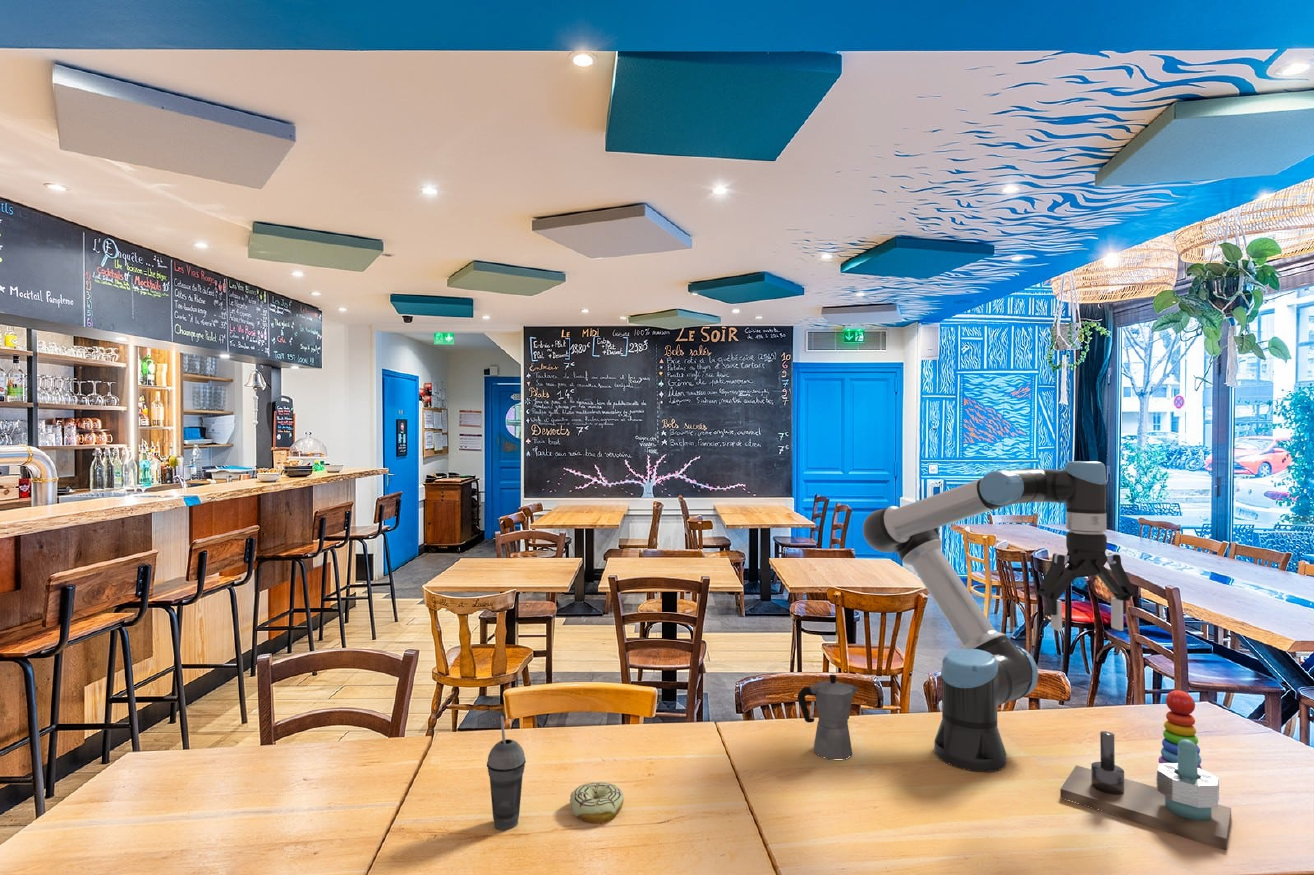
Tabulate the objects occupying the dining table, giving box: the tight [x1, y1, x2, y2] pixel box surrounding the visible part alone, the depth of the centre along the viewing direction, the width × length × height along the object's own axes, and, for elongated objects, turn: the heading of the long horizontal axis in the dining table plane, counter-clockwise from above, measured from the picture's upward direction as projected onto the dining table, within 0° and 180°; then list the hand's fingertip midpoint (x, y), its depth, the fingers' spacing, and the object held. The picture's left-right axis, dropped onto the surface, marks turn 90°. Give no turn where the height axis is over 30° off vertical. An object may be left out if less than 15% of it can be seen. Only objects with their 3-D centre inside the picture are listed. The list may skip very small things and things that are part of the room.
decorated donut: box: [569, 781, 624, 824], centre depth 135 cm, size 10×11×4 cm
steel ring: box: [1156, 763, 1220, 808], centre depth 131 cm, size 9×9×4 cm
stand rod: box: [1090, 730, 1125, 795], centre depth 140 cm, size 6×6×11 cm
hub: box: [1165, 739, 1212, 821], centre depth 131 cm, size 7×7×14 cm
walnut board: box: [1059, 764, 1232, 850], centre depth 136 cm, size 26×14×2 cm, turn 47°
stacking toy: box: [1158, 690, 1203, 769], centre depth 148 cm, size 8×8×19 cm
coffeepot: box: [797, 674, 860, 760], centre depth 160 cm, size 15×9×18 cm, turn 102°
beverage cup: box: [486, 715, 526, 831], centre depth 130 cm, size 7×7×20 cm
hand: (1086, 629), depth 149 cm, fingers open, 13 cm apart
